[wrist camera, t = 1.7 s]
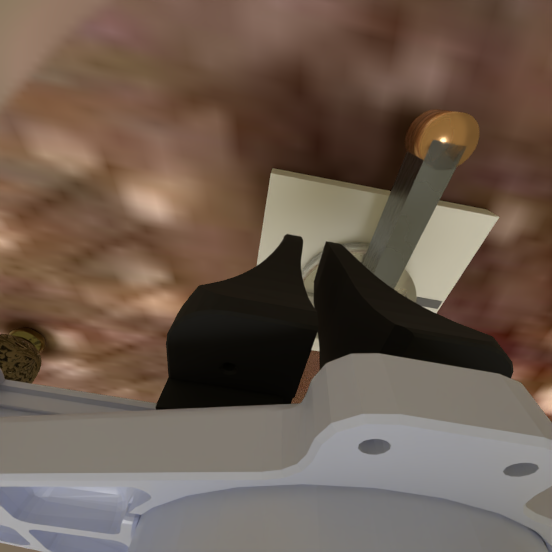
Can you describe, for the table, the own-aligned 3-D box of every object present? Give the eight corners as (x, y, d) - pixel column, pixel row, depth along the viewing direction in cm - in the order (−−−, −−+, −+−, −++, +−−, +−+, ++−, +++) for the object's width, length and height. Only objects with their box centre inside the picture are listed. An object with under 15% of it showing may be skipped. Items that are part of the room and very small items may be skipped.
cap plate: (397, 353, 29) (402, 366, 28) (247, 328, 29) (245, 339, 27) (487, 209, 20) (499, 217, 19) (272, 168, 20) (270, 173, 18)
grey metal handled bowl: (382, 337, 26) (397, 380, 22) (286, 321, 25) (284, 361, 22) (499, 123, 16) (563, 133, 12) (346, 91, 16) (362, 91, 12)
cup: (49, 313, 29) (-23, 378, 23) (76, 359, 34) (21, 426, 27) (-18, 309, 30) (-108, 372, 23) (17, 356, 34) (-52, 420, 27)
